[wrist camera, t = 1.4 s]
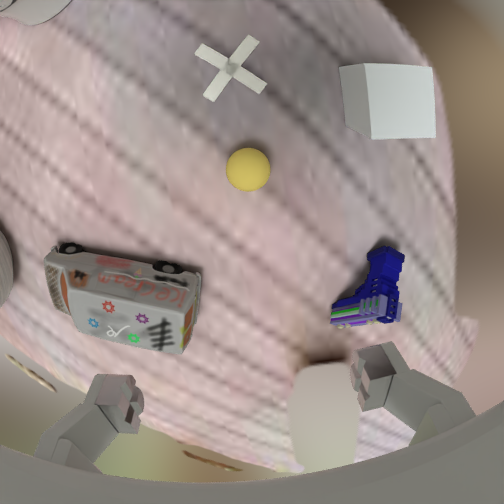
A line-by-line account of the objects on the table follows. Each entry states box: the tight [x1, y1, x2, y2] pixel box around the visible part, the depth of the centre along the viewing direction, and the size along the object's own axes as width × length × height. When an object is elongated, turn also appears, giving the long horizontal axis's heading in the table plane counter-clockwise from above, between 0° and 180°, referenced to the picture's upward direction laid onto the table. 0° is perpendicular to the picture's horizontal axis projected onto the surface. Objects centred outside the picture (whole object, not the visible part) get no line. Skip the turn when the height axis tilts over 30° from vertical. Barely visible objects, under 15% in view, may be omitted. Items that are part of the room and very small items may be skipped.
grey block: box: [339, 63, 436, 140], centre depth 27 cm, size 7×7×9 cm
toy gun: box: [330, 246, 405, 328], centre depth 42 cm, size 4×13×10 cm
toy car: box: [44, 243, 201, 354], centre depth 41 cm, size 11×25×10 cm, turn 79°
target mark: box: [195, 35, 267, 102], centre depth 29 cm, size 9×9×1 cm
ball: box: [226, 148, 270, 191], centre depth 33 cm, size 5×5×5 cm
